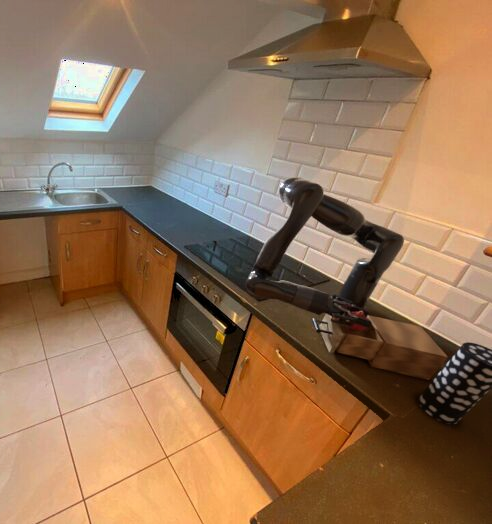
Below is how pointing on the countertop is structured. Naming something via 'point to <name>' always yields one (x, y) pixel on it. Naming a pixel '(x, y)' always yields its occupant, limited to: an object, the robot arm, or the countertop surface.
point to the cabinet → (406, 349)
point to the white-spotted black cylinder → (459, 384)
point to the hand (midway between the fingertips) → (368, 319)
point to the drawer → (349, 339)
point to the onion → (355, 326)
